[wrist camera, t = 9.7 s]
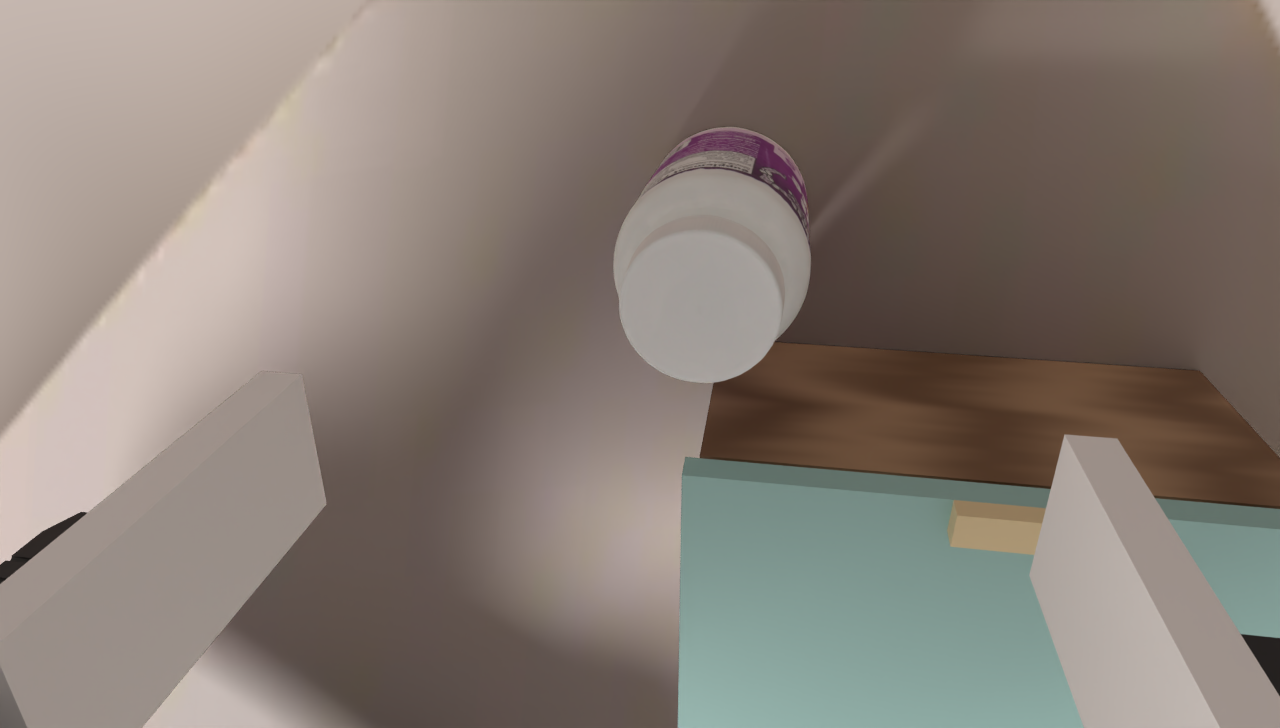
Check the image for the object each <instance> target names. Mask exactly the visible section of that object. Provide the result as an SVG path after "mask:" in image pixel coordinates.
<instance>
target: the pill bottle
mask: <svg viewBox="0 0 1280 728" xmlns="http://www.w3.org/2000/svg"><path fill="white" fill-rule="evenodd" d="M810 272H811V252H810V229H809V213H808V199H807V192H806V187H805V183H804V180H803V178H802V175H801V173H800V171H799V169H798V167H797V165H796V164H795V162H794V161H793V159H792V157H791V156H790V155H789V154H788V153H787V152H786V151H785V150H784V149H783V148H782V147H781V146H779V145H778V144H777V143H776V142H774V141H773V140H772V139H770V138H768V137H766V136H764V135H762V134H760V133H757V132H755V131H751V130H748V129H743V128H738V127H719V128H713V129H709V130H705V131H702V132H699V133H697V134H694V135H692V136H690V137H688V138H687V139H685V140H684V141H682V142H681V143H679V144H678V145H677V146H676V147H675V148H674V149H673V150H671V151H670V153H669V154H668V155H667V156H666V157H665V159H664V160H663V161H662V163H661V164H660V165H659V167H658V168H657V170H656V171H655V173H654V174H653V176H652V177H651V179H650V180H649V182H648V183H647V185H646V186H645V188H644V189H643V191H642V193H641V195H640V196H639V198H638V199H637V201H636V202H635V204H634V205H633V206H632V208H631V209H630V211H629V213H628V215H627V216H626V218H625V220H624V222H623V224H622V227H621V229H620V232H619V234H618V238H617V241H616V245H615V250H614V259H613V273H614V280H615V286H616V290H617V293H618V296H619V314H620V320H621V323H622V326H623V329H624V332H625V334H626V337H627V338H628V340H629V342H630V344H631V345H632V346H633V348H634V349H635V350H636V352H637V353H638V354H639V355H640V356H641V357H642V358H643V359H644V360H645V361H646V362H647V363H648V364H649V365H650V366H652V367H653V368H655V369H656V370H658V371H660V372H662V373H663V374H665V375H668V376H670V377H673V378H675V379H679V380H682V381H688V382H694V383H714V382H721V381H725V380H728V379H731V378H734V377H736V376H739V375H741V374H743V373H744V372H746V371H748V370H749V369H751V368H752V367H753V366H755V365H756V364H757V363H758V362H760V361H761V360H762V359H763V358H764V356H765V355H766V354H767V352H768V351H769V350H770V348H771V347H772V345H773V343H774V341H775V340H776V339H777V338H779V337H780V336H781V335H782V334H783V333H784V332H785V330H786V329H787V328H788V327H789V326H790V325H791V323H792V322H793V321H794V319H795V318H796V316H797V314H798V313H799V311H800V309H801V307H802V305H803V302H804V300H805V297H806V294H807V291H808V286H809V280H810Z"/></svg>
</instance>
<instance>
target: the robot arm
mask: <svg viewBox="0 0 1280 728" xmlns="http://www.w3.org/2000/svg"><path fill="white" fill-rule="evenodd" d="M326 504H327V502H326V497H325V492H324V487H323V481H322V476H321V471H320V466H319V460H318V455H317V450H316V445H315V439H314V434H313V429H312V424H311V419H310V413H309V408H308V403H307V398H306V392H305V387H304V382H303V377H302V374H293V373H281V372H268V371H261V372H260V373H259V374H257V375H256V376H255V377H254V378H252V379H251V380H250V381H249V382H248V383H246V384H245V385H244V386H243V387H241V388H240V389H239V390H238V391H236V392H235V393H234V394H233V395H232V396H230V397H229V398H228V399H227V400H225V401H224V402H223V403H222V404H221V405H219V406H218V407H217V408H216V409H214V410H213V411H212V412H211V413H209V414H208V415H207V416H206V417H205V418H203V419H202V420H201V421H200V422H198V423H197V424H196V425H195V426H194V427H192V428H191V429H190V430H189V431H187V432H186V433H185V434H184V435H183V436H181V437H180V438H179V439H178V440H176V441H175V442H174V443H173V444H171V445H170V446H169V447H168V448H167V449H165V450H164V451H163V452H162V453H160V454H159V455H158V456H157V457H156V458H154V459H153V460H152V461H151V462H149V463H148V464H147V465H146V466H145V467H143V468H142V469H141V470H140V471H138V472H137V473H136V474H135V475H133V476H132V477H131V478H130V479H129V480H127V481H126V482H125V483H124V484H122V485H121V486H120V487H119V488H118V489H116V490H115V491H114V492H113V493H111V494H110V495H109V496H108V497H106V498H105V499H104V500H103V501H102V502H100V503H99V504H98V505H97V506H95V507H94V508H93V509H92V510H91V511H89V512H88V513H86V512H80V513H78V514H76V515H74V516H72V517H70V518H68V519H66V520H64V521H62V522H60V523H58V524H56V525H54V526H52V527H50V528H48V529H46V530H44V531H42V532H41V533H40V534H39V535H37V536H36V537H35V538H34V539H32V540H31V541H30V542H28V543H27V544H26V545H25V546H23V547H22V548H21V549H20V550H18V551H17V552H16V553H15V554H13V555H12V559H11V560H10V561H4V562H3V563H2V564H1V565H0V728H142V727H143V726H144V725H145V723H146V722H147V721H148V720H149V719H150V717H151V716H152V715H153V714H154V713H155V711H156V710H157V709H158V708H159V707H160V705H161V704H162V703H163V702H164V700H165V699H166V698H167V697H168V696H169V694H170V693H171V692H172V691H173V690H174V688H175V687H176V686H177V685H178V684H179V682H180V681H181V680H182V679H183V677H184V676H185V675H186V674H187V673H188V671H189V670H190V669H191V668H192V667H193V665H194V664H195V663H196V662H197V661H198V659H199V658H200V657H201V656H202V654H203V653H204V652H205V651H206V650H207V648H208V647H209V646H210V645H211V644H212V642H213V641H214V640H215V639H216V638H217V636H218V635H219V634H220V633H221V632H222V630H223V629H224V628H225V627H226V625H227V624H228V623H229V622H230V621H231V619H232V618H233V617H234V616H235V615H236V613H237V612H238V611H239V610H240V609H241V607H242V606H243V605H244V604H245V602H246V601H247V600H248V599H249V598H250V596H251V595H252V594H253V593H254V592H255V590H256V589H257V588H258V587H259V586H260V584H261V583H262V582H263V581H264V579H265V578H266V577H267V576H268V575H269V573H270V572H271V571H272V570H273V569H274V567H275V566H276V565H277V564H278V563H279V561H280V560H281V559H282V558H283V556H284V555H285V554H286V553H287V552H288V550H289V549H290V548H291V547H292V546H293V544H294V543H295V542H296V541H297V540H298V538H299V537H300V536H301V535H302V533H303V532H304V531H305V530H306V529H307V527H308V526H309V525H310V524H311V523H312V521H313V520H314V519H315V518H316V517H317V515H318V514H319V513H320V512H321V511H322V509H323V508H324V507H325V506H326ZM1029 576H1030V579H1031V582H1032V585H1033V587H1034V590H1035V593H1036V596H1037V598H1038V601H1039V604H1040V607H1041V610H1042V612H1043V615H1044V618H1045V621H1046V624H1047V626H1048V629H1049V632H1050V635H1051V637H1052V640H1053V643H1054V646H1055V649H1056V651H1057V654H1058V657H1059V660H1060V663H1061V665H1062V668H1063V671H1064V674H1065V676H1066V679H1067V682H1068V685H1069V688H1070V690H1071V693H1072V696H1073V699H1074V702H1075V704H1076V707H1077V710H1078V713H1079V716H1080V718H1081V721H1082V724H1083V727H1084V728H1280V638H1274V637H1264V636H1255V635H1246V634H1240V632H1239V631H1238V629H1237V628H1236V626H1235V624H1234V623H1233V621H1232V620H1231V618H1230V617H1229V615H1228V613H1227V612H1226V610H1225V609H1224V607H1223V605H1222V604H1221V602H1220V601H1219V599H1218V598H1217V596H1216V594H1215V593H1214V591H1213V590H1212V588H1211V586H1210V585H1209V583H1208V582H1207V580H1206V578H1205V577H1204V575H1203V574H1202V572H1201V571H1200V569H1199V567H1198V566H1197V564H1196V563H1195V561H1194V559H1193V558H1192V556H1191V555H1190V553H1189V551H1188V550H1187V548H1186V547H1185V545H1184V544H1183V542H1182V540H1181V539H1180V537H1179V536H1178V534H1177V532H1176V531H1175V529H1174V528H1173V526H1172V525H1171V523H1170V521H1169V520H1168V518H1167V517H1166V515H1165V513H1164V512H1163V510H1162V509H1161V507H1160V505H1159V504H1158V502H1157V501H1156V499H1155V498H1154V496H1153V494H1152V493H1151V491H1150V490H1149V488H1148V486H1147V485H1146V483H1145V482H1144V480H1143V478H1142V477H1141V475H1140V474H1139V472H1138V471H1137V469H1136V467H1135V466H1134V464H1133V463H1132V461H1131V459H1130V458H1129V456H1128V455H1127V453H1126V452H1125V450H1124V448H1123V447H1122V445H1121V444H1120V442H1119V440H1118V439H1116V438H1104V437H1091V436H1078V435H1066V434H1065V435H1064V439H1063V443H1062V447H1061V450H1060V454H1059V458H1058V462H1057V466H1056V470H1055V474H1054V478H1053V482H1052V486H1051V490H1050V494H1049V498H1048V502H1047V506H1046V510H1045V514H1044V518H1043V522H1042V526H1041V530H1040V534H1039V538H1038V542H1037V546H1036V550H1035V554H1034V558H1033V562H1032V566H1031V570H1030V574H1029Z"/></svg>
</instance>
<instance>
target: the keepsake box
mask: <svg viewBox="0 0 1280 728" xmlns="http://www.w3.org/2000/svg"><path fill="white" fill-rule="evenodd" d="M1065 434H1066V435H1078V436H1091V437H1104V438H1116V439H1118V440H1119V442H1120V444H1121V445H1122V447H1123V448H1124V450H1125V452H1126V453H1127V455H1128V456H1129V458H1130V459H1131V461H1132V463H1133V464H1134V466H1135V467H1136V469H1137V471H1138V472H1139V474H1140V475H1141V477H1142V478H1143V480H1144V482H1145V483H1146V485H1147V486H1148V488H1149V490H1150V491H1151V493H1152V494H1153V496H1154V498H1159V499H1170V500H1181V501H1193V502H1204V503H1216V504H1227V505H1238V506H1250V507H1261V508H1273V509H1280V458H1279V457H1278V456H1277V455H1276V454H1275V452H1274V451H1273V450H1272V449H1271V448H1270V447H1269V446H1268V445H1267V444H1266V443H1265V442H1264V440H1263V439H1262V438H1261V437H1260V436H1259V435H1258V434H1257V433H1256V432H1255V431H1254V430H1253V428H1252V427H1251V426H1250V425H1249V424H1248V423H1247V422H1246V421H1245V420H1244V419H1243V418H1242V416H1241V415H1240V414H1239V413H1238V412H1237V411H1236V410H1235V409H1234V408H1233V407H1232V406H1231V404H1230V403H1229V402H1228V401H1227V400H1226V399H1225V398H1224V397H1223V396H1222V395H1221V394H1220V392H1219V391H1218V390H1217V389H1216V388H1215V387H1214V386H1213V385H1212V384H1211V383H1210V381H1209V380H1208V379H1207V378H1206V377H1205V376H1204V375H1203V374H1202V373H1201V372H1200V371H1195V370H1180V369H1165V368H1150V367H1135V366H1121V365H1106V364H1091V363H1076V362H1062V361H1047V360H1032V359H1017V358H1002V357H988V356H973V355H958V354H943V353H929V352H914V351H899V350H884V349H869V348H855V347H840V346H825V345H810V344H796V343H781V342H774V343H773V345H772V347H771V348H770V350H769V351H768V352H767V354H766V355H765V356H764V358H763V359H762V360H761V361H760V362H758V363H757V364H756V365H755V366H753V367H752V368H751V369H749V370H748V371H746V372H744V373H743V374H741V375H739V376H736V377H734V378H731V379H728V380H725V381H721V382H714V384H713V389H712V394H711V400H710V405H709V410H708V416H707V421H706V426H705V431H704V437H703V442H702V447H701V453H700V458H702V459H714V460H725V461H737V462H748V463H760V464H771V465H782V466H794V467H805V468H817V469H828V470H839V471H851V472H862V473H874V474H885V475H896V476H908V477H919V478H931V479H942V480H953V481H965V482H976V483H988V484H999V485H1010V486H1022V487H1033V488H1045V489H1051V486H1052V482H1053V478H1054V474H1055V470H1056V466H1057V462H1058V458H1059V454H1060V450H1061V447H1062V443H1063V439H1064V435H1065Z"/></svg>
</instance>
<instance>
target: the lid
mask: <svg viewBox="0 0 1280 728" xmlns="http://www.w3.org/2000/svg"><path fill="white" fill-rule="evenodd" d="M1050 490H1051V489H1045V488H1033V487H1022V486H1010V485H999V484H988V483H976V482H965V481H953V480H942V479H931V478H919V477H908V476H896V475H885V474H874V473H862V472H851V471H839V470H828V469H817V468H805V467H794V466H782V465H771V464H760V463H748V462H737V461H725V460H714V459H702V458H691V457H685V462H684V467H683V473H682V504H681V563H680V623H679V683H678V728H1084V727H1083V724H1082V721H1081V718H1080V716H1079V713H1078V710H1077V707H1076V704H1075V702H1074V699H1073V696H1072V693H1071V690H1070V688H1069V685H1068V682H1067V679H1066V676H1065V674H1064V671H1063V668H1062V665H1061V663H1060V660H1059V657H1058V654H1057V651H1056V649H1055V646H1054V643H1053V640H1052V637H1051V635H1050V632H1049V629H1048V626H1047V624H1046V621H1045V618H1044V615H1043V612H1042V610H1041V607H1040V604H1039V601H1038V598H1037V596H1036V593H1035V590H1034V587H1033V585H1032V582H1031V579H1030V576H1029V574H1030V570H1031V566H1032V562H1033V558H1034V554H1035V550H1036V546H1037V542H1038V538H1039V534H1040V530H1041V526H1042V522H1043V518H1044V514H1045V510H1046V506H1047V502H1048V498H1049V494H1050ZM1155 499H1156V501H1157V502H1158V504H1159V505H1160V507H1161V509H1162V510H1163V512H1164V513H1165V515H1166V517H1167V518H1168V520H1169V521H1170V523H1171V525H1172V526H1173V528H1174V529H1175V531H1176V532H1177V534H1178V536H1179V537H1180V539H1181V540H1182V542H1183V544H1184V545H1185V547H1186V548H1187V550H1188V551H1189V553H1190V555H1191V556H1192V558H1193V559H1194V561H1195V563H1196V564H1197V566H1198V567H1199V569H1200V571H1201V572H1202V574H1203V575H1204V577H1205V578H1206V580H1207V582H1208V583H1209V585H1210V586H1211V588H1212V590H1213V591H1214V593H1215V594H1216V596H1217V598H1218V599H1219V601H1220V602H1221V604H1222V605H1223V607H1224V609H1225V610H1226V612H1227V613H1228V615H1229V617H1230V618H1231V620H1232V621H1233V623H1234V624H1235V626H1236V628H1237V629H1238V631H1239V632H1240V634H1246V635H1255V636H1264V637H1274V638H1280V509H1273V508H1261V507H1250V506H1238V505H1227V504H1216V503H1204V502H1193V501H1181V500H1170V499H1159V498H1155Z"/></svg>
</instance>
